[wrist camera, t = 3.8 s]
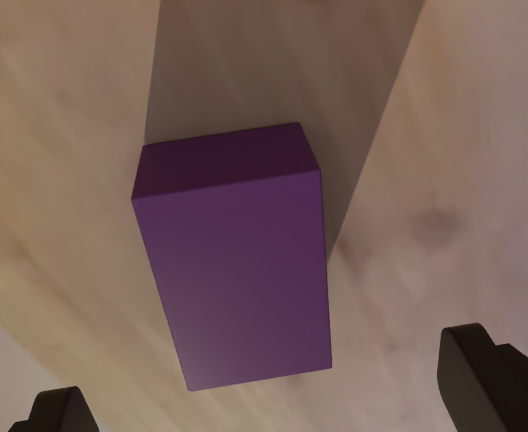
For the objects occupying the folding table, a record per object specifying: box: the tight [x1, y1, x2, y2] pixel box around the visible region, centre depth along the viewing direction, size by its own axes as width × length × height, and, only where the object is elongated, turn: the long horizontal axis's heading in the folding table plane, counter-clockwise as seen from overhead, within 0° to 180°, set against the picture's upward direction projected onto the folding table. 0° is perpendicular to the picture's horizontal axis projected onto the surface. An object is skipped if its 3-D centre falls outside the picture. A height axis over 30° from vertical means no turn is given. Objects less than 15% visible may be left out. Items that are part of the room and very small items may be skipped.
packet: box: [131, 123, 332, 392], centre depth 15 cm, size 7×4×3 cm, turn 7°
